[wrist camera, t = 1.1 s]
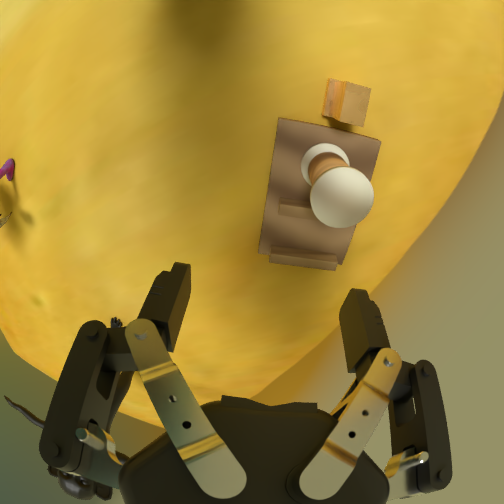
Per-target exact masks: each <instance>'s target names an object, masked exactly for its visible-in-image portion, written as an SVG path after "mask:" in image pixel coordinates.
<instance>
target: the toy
mask: <svg viewBox="0 0 504 504" xmlns="http://www.w3.org/2000/svg"><path fill="white" fill-rule="evenodd" d="M13 169H14V162H13V160H12V159H8V160H7V161H6V163H5V164H4V165H3V167H2V168H1V169H0V179H1V178H2V177H3V176H4V175H5V174H6V176H7V179H8V180H9V181H11V180H12V177H13ZM11 213H12V212H11ZM10 215H11V214H10ZM10 215H9V216H7V217H6V218H3V219H0V228H1V227H2V226H3V225H4V224H5V223H6V222H7V220H8V218H9V217H10ZM0 216H1V214H0Z"/></svg>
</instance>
